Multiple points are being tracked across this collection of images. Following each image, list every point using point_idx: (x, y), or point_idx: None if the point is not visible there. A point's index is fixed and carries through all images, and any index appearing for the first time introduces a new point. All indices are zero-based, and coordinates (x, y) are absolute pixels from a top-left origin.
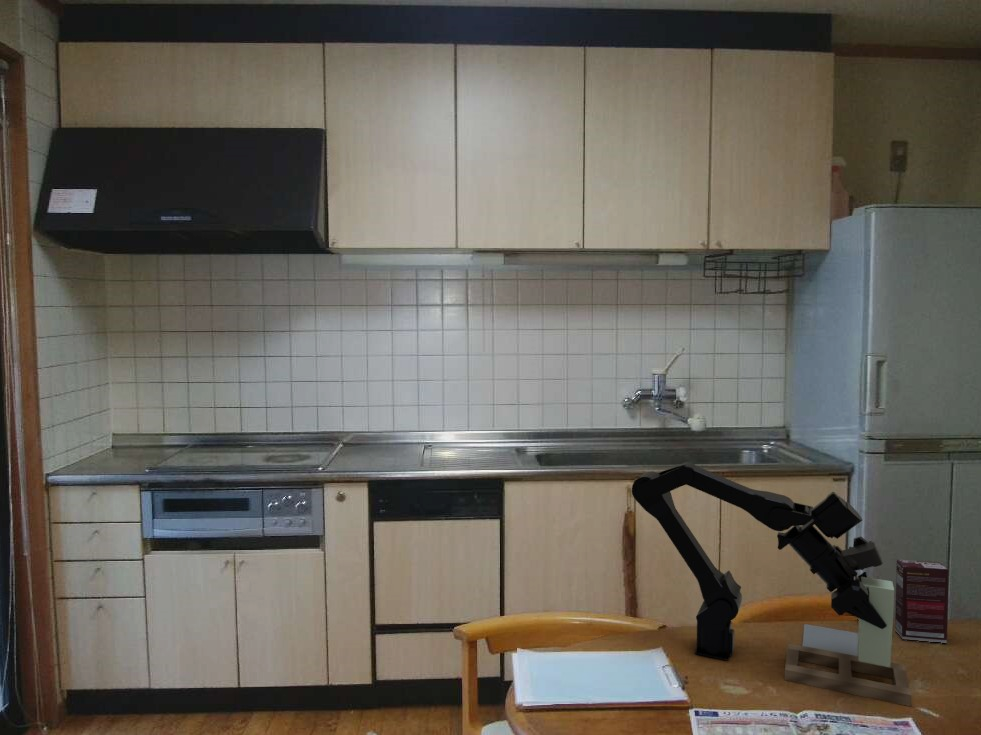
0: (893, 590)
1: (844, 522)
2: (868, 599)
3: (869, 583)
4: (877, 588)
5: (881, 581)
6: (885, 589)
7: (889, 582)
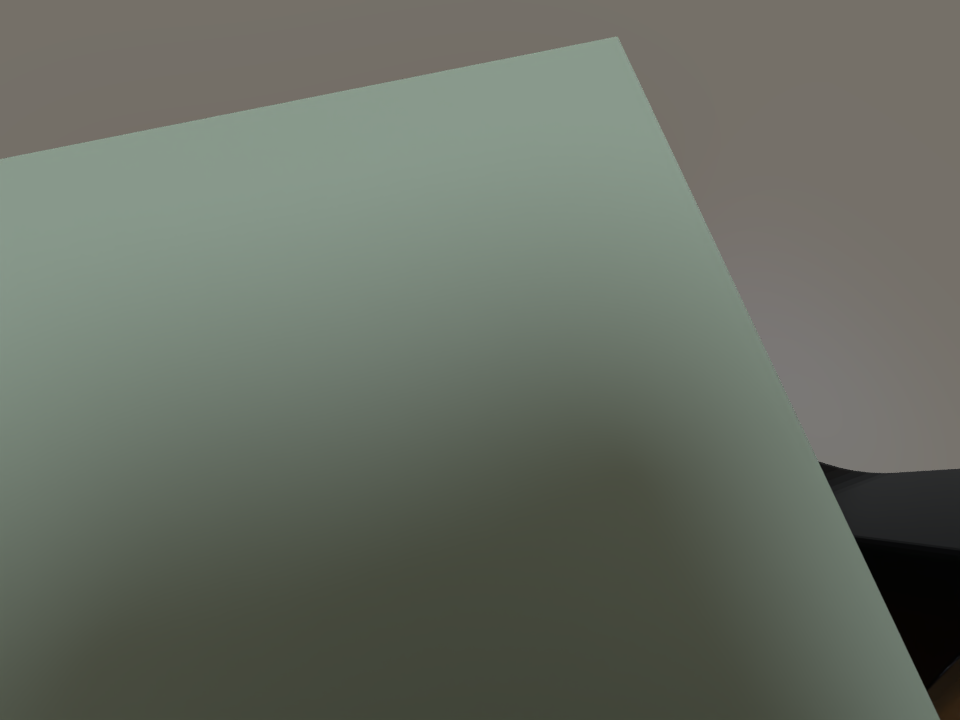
0: (620, 60)
1: None
2: (928, 478)
3: (614, 677)
4: (753, 375)
5: (73, 426)
6: (690, 204)
7: (17, 226)
